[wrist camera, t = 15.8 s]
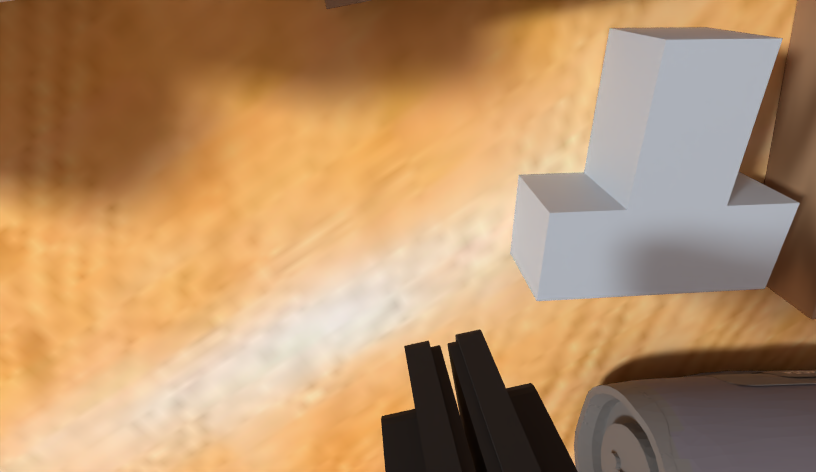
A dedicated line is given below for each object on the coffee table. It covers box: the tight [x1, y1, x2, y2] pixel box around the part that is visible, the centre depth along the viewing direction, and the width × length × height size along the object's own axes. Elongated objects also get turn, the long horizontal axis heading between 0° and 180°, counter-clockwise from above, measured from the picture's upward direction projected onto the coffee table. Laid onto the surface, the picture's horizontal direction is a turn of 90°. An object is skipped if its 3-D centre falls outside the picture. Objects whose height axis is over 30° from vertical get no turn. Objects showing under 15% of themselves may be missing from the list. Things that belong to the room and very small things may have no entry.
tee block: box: [510, 27, 800, 301], centre depth 20 cm, size 10×10×4 cm
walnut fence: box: [325, 0, 816, 319], centre depth 19 cm, size 18×20×4 cm
